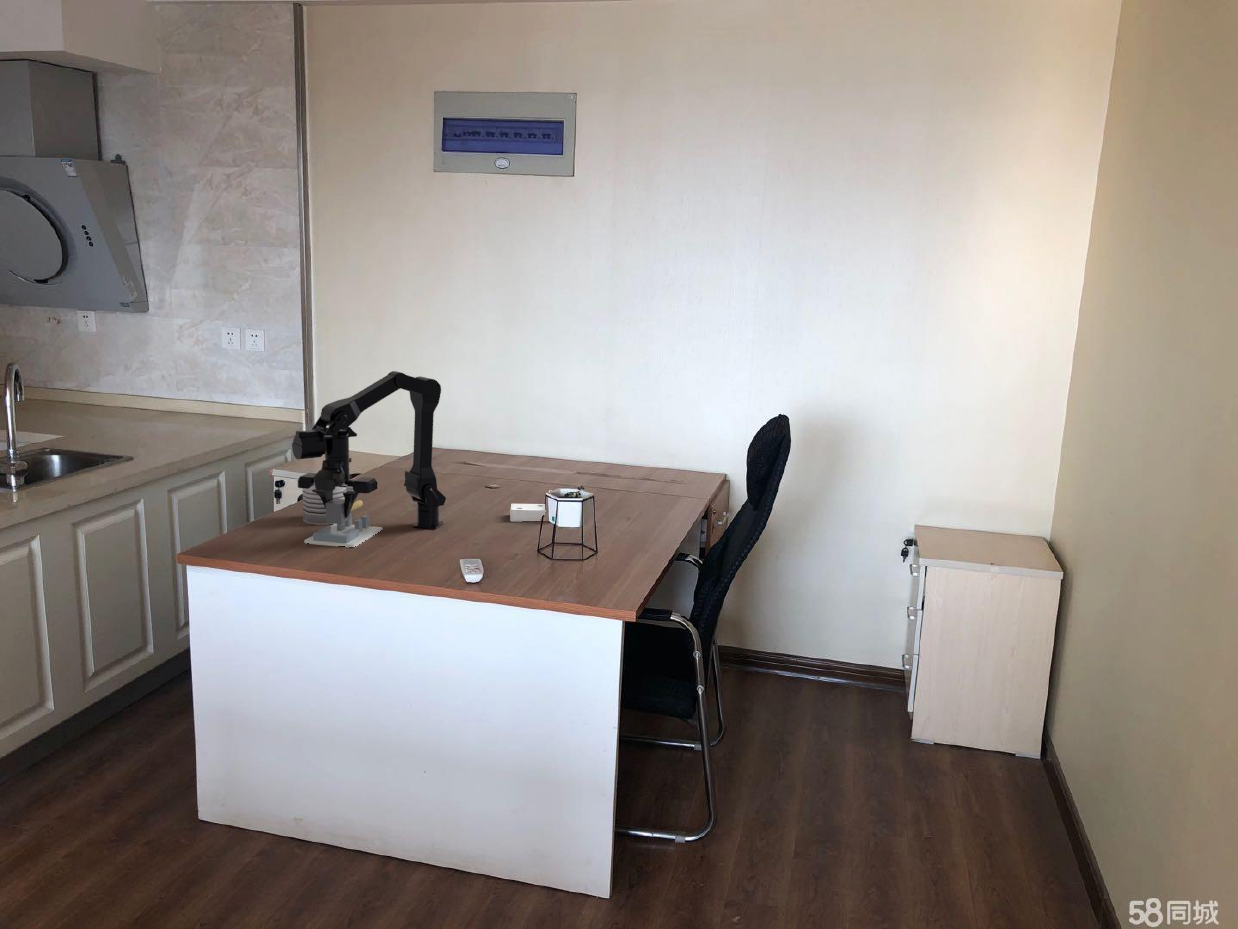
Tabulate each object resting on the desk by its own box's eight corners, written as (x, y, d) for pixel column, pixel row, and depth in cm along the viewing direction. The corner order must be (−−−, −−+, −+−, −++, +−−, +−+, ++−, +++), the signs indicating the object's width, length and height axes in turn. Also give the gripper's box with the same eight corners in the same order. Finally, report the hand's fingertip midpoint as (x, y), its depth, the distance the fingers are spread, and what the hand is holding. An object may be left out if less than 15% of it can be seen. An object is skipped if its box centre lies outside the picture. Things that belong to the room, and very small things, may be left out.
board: (335, 526, 258) (335, 512, 258) (382, 530, 256) (382, 516, 256) (304, 543, 242) (304, 528, 241) (353, 548, 240) (353, 533, 239)
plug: (354, 507, 258) (353, 489, 257) (368, 509, 257) (368, 490, 256) (326, 522, 243) (325, 503, 242) (341, 524, 242) (340, 504, 241)
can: (356, 519, 266) (355, 476, 263) (322, 527, 256) (321, 482, 254) (327, 512, 272) (326, 470, 270) (293, 520, 263) (292, 476, 260)
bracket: (557, 516, 279) (558, 490, 277) (557, 523, 272) (558, 496, 270) (511, 515, 278) (511, 489, 276) (510, 522, 271) (510, 495, 269)
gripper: (285, 458, 235) (287, 521, 238) (358, 464, 232) (359, 528, 235) (307, 450, 246) (309, 510, 249) (378, 455, 243) (378, 516, 246)
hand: (338, 516), depth 245 cm, fingers closed on plug, 4 cm apart
